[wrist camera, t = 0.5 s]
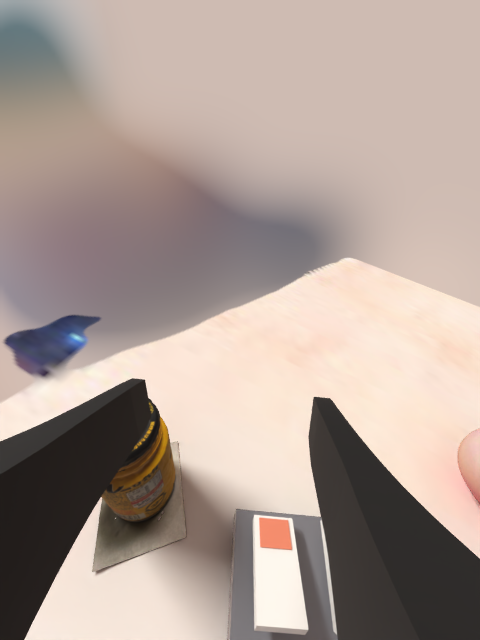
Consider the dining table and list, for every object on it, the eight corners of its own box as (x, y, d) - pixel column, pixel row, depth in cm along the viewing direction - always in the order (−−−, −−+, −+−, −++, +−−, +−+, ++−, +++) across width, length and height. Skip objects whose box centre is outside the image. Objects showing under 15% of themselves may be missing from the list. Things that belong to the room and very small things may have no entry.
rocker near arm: (304, 634, 14) (308, 629, 14) (254, 630, 14) (256, 624, 14) (289, 524, 19) (292, 517, 19) (252, 520, 19) (254, 514, 19)
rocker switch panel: (677, 840, 13) (747, 873, 11) (217, 808, 12) (220, 838, 10) (494, 540, 22) (517, 534, 20) (234, 516, 22) (236, 508, 20)
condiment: (177, 442, 26) (168, 376, 19) (186, 537, 20) (177, 494, 13) (107, 459, 24) (67, 393, 17) (93, 572, 18) (19, 544, 11)
